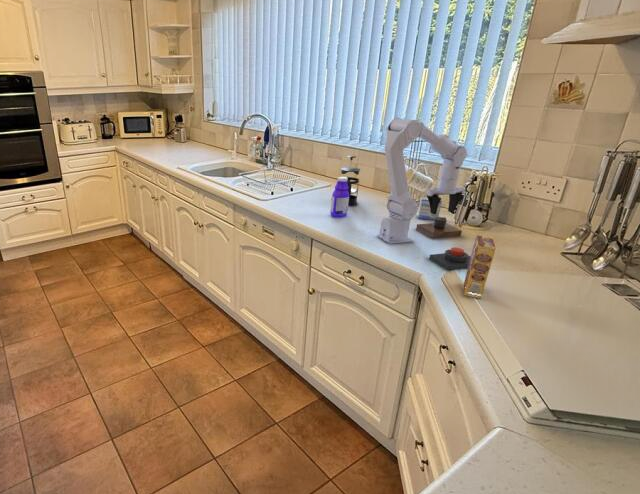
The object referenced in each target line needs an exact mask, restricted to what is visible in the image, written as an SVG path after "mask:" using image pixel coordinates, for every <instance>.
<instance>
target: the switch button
mask: <svg viewBox="0 0 640 494" xmlns="http://www.w3.org/2000/svg"><path fill="white" fill-rule="evenodd" d="M450 250H451V252H450V254H452V255H455V256H463V253H464V252H465V250H464V249H463V248H461V247H455V246H454V247H453V246H452V247H451V248H450Z"/></svg>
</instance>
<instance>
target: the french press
mask: <svg viewBox="0 0 640 494" xmlns="http://www.w3.org/2000/svg"><path fill="white" fill-rule="evenodd" d="M346 158H349V159H350V166H346V167H345V166H344V167H340V173H341V175H346V174H347V173H349V176H346V177H347V178H348V180H347V185H348V187H349V189H348V192H349V202H348V207H354V206H356V205H358V202H357V201H358V193H359V185H360V178H358V177H352V176H351V173H354V174H355V175H356V176H358V175H359V174H360V171H361V168H358V167H355V166H354V167H353V166H352V162H353V159H357V156H355V155H347V156H346ZM356 184H357V188H356V189H354V188H352V185H356ZM354 194H356V195H354Z"/></svg>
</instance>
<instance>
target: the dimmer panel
mask: <svg viewBox="0 0 640 494" xmlns="http://www.w3.org/2000/svg"><path fill="white" fill-rule="evenodd" d="M433 225H434V222H430V223H417V224H416V227H415V231H417V232H418V233H420V234H422V235H423V236H426V237H428V238H430V239H432V240H437V239H448V238H459V237H461V236H462V232H463V230H462V229H460V228H457V227H456V226H453V225H451V224H449V223H447V222H446V225H445V228H444V229H437V228H434V227H433Z"/></svg>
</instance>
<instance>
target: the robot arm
mask: <svg viewBox="0 0 640 494" xmlns="http://www.w3.org/2000/svg"><path fill="white" fill-rule="evenodd" d="M385 133H386V139H385V143H384V154H385V159H386V167H387V174H388V179H389V185H390V192H391V193H390V194H388V195H387V203H386V210H387V212H388V215H389V216H387V217H384V218H382V220H381V222H380V229H379V234H378V235H377V236H378V238H380V239H381V240H383V241H384V242H386V243H387V244H389V245H390V244H403V243H412V242H413V240H412V239H411V238H409V237H408V236H409V231H410V226H411V220H412V219H413V218H414V217H415V216H416V215H417V214H418V210H419V206H418V205H417V203H416V202H415V197H414V196H413V195H412V194H411V193H410V191H409V186H408V179H407V171H406V162H405V157H404V150H405V149H406V148H407V147H409V146H410V145H411V144H412V143H413V142H414V141H415V140H416V139H417V138H420V139H421V140H423V141H425V142H427V143H429V146H430V149H431V150H432V151H434V152H435V153H437V154H439V155H440V158H441V159H442V160H443V162H442V166H441V167H442V168H441V171H440V177H439V182H438V187H437V188H436V187H435V188H432V189H427V192H426V198H428V200H429V204H430V212H431V213H432V214H436V212H437V208H438V205H439V202H440V200H441V201H442V198H441V197H440V196H444V195H448V198H449V199H448V200H449V201H448V208H447V209H448V210H447V211H448V212H449V213H451V214H454V212H455V211H456V209H457V207H458V205H459V204H460V203H461V201H462V200H464V199H465V194H466V188H464V187H457V185H458V180H459V176H460V171H461V167H462V166H463V163H464V161H465V160H466V159H467V157H468V151H467V149H466V146H463V145H459V144H457V141H456V140H452V139H450V138H449V135H448V134H436V133H435V132H434V131H433V130H432V129H430V128H429V127H428V126H426V125H425V123H424V122H422V121H420V120H418V119H409V118H408V119H407V118H401V117H395V118H392V119H391V120H390V122H389V123H388V124H387V126H386V127H385Z"/></svg>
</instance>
